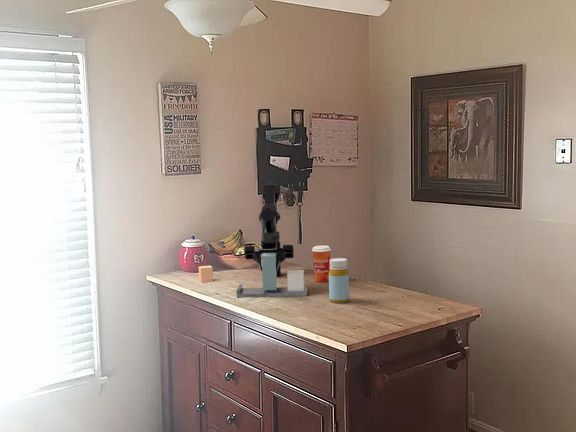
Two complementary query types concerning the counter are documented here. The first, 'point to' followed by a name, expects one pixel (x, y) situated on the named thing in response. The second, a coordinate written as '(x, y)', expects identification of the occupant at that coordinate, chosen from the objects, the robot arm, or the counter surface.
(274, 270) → the block
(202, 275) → the block
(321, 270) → the paper cup
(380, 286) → the counter surface
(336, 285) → the bottle
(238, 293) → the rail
